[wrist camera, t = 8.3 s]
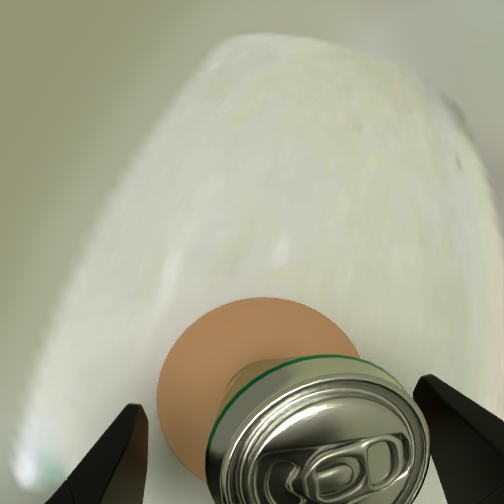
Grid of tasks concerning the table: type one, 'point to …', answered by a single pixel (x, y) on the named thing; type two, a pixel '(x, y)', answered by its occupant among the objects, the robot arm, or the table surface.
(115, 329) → the table surface
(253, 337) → the terracotta plate
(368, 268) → the table surface
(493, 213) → the table surface
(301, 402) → the soda can
